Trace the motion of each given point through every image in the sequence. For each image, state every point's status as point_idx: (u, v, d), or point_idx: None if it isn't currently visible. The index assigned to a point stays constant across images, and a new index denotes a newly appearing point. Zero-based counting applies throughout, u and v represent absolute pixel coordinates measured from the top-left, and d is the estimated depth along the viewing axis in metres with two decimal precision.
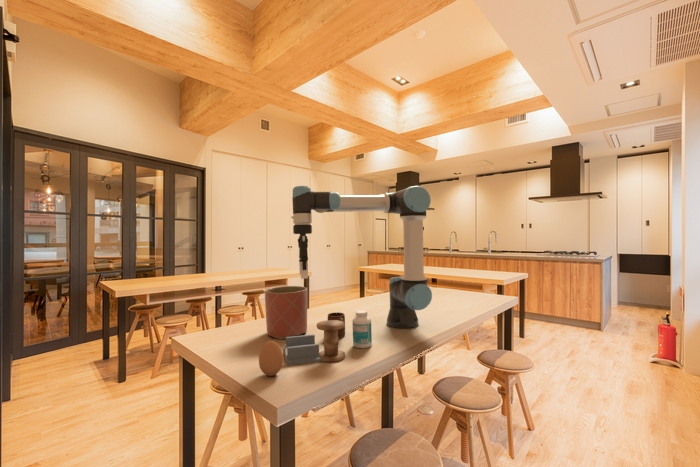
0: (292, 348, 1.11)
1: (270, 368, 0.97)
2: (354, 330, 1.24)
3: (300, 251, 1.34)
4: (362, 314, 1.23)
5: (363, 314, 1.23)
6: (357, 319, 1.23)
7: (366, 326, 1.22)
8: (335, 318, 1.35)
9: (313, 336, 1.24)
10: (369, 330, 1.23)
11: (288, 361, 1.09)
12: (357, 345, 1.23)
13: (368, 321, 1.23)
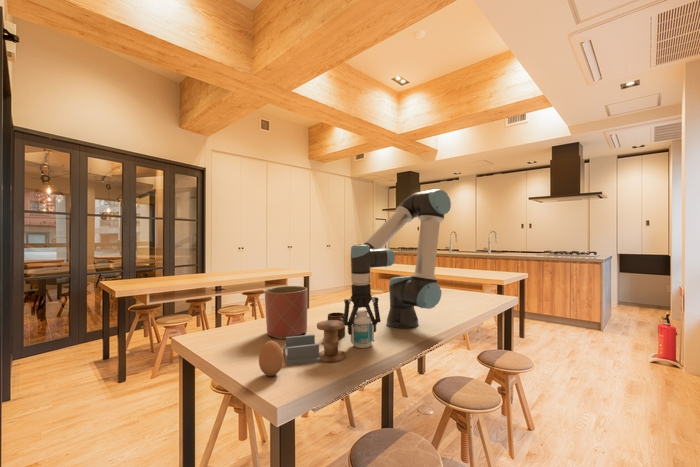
0: (292, 348, 1.11)
1: (270, 368, 0.97)
2: (354, 330, 1.24)
3: (368, 313, 1.27)
4: (362, 314, 1.23)
5: (363, 314, 1.23)
6: (357, 319, 1.23)
7: (366, 326, 1.22)
8: (335, 318, 1.35)
9: (313, 336, 1.24)
10: (369, 330, 1.23)
11: (288, 361, 1.09)
12: (357, 345, 1.23)
13: (368, 321, 1.23)
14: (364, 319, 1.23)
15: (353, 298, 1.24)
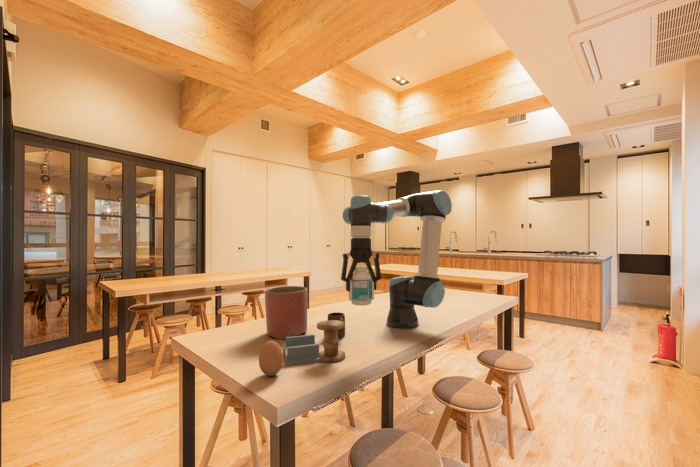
0: (292, 348, 1.11)
1: (270, 368, 0.97)
2: (352, 286, 1.15)
3: (368, 269, 1.19)
4: (361, 269, 1.15)
5: (362, 269, 1.15)
6: (356, 274, 1.15)
7: (365, 282, 1.14)
8: (335, 318, 1.35)
9: (313, 336, 1.24)
10: (369, 286, 1.15)
11: (288, 361, 1.09)
12: (355, 302, 1.14)
13: (368, 276, 1.15)
14: (363, 274, 1.15)
15: (352, 252, 1.16)
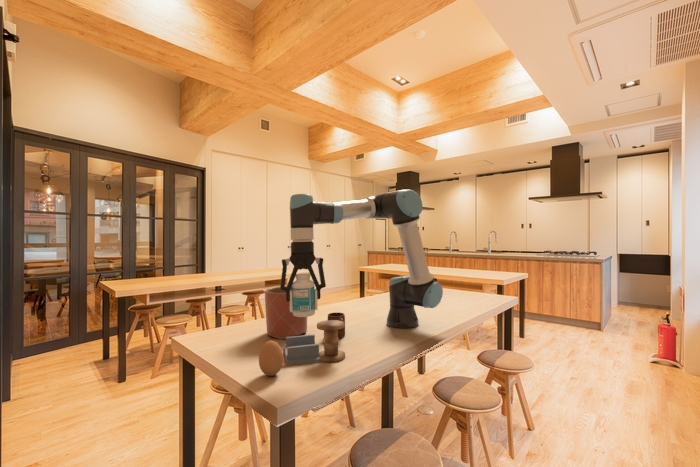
0: (292, 348, 1.11)
1: (270, 368, 0.97)
2: (293, 296, 1.03)
3: (311, 276, 1.07)
4: (302, 276, 1.03)
5: (304, 276, 1.03)
6: (296, 282, 1.03)
7: (306, 291, 1.02)
8: (335, 318, 1.35)
9: (313, 336, 1.24)
10: (311, 296, 1.03)
11: (288, 361, 1.09)
12: (296, 313, 1.02)
13: (309, 284, 1.02)
14: (304, 282, 1.02)
15: (292, 258, 1.03)
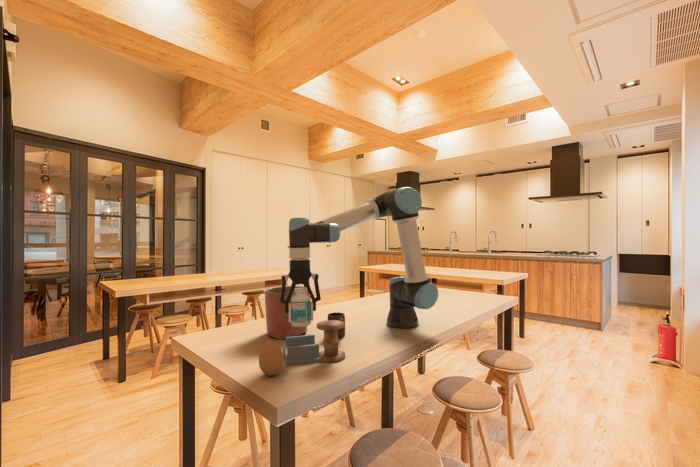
0: (292, 348, 1.11)
1: (270, 368, 0.97)
2: (291, 308, 1.16)
3: None
4: (300, 291, 1.16)
5: (301, 291, 1.16)
6: (294, 296, 1.16)
7: (303, 304, 1.15)
8: (335, 318, 1.35)
9: (313, 336, 1.24)
10: (307, 308, 1.16)
11: (288, 361, 1.09)
12: (294, 324, 1.15)
13: (306, 298, 1.15)
14: (301, 296, 1.15)
15: (290, 274, 1.16)
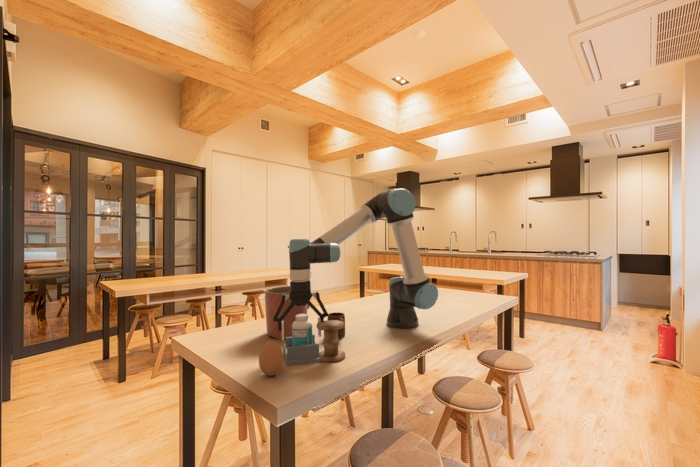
0: (292, 348, 1.11)
1: (270, 368, 0.97)
2: (293, 335, 1.16)
3: None
4: (301, 318, 1.16)
5: (302, 318, 1.16)
6: (296, 323, 1.16)
7: (305, 331, 1.15)
8: (335, 318, 1.35)
9: (313, 336, 1.24)
10: (309, 335, 1.16)
11: (288, 361, 1.09)
12: None
13: (307, 325, 1.15)
14: (303, 323, 1.15)
15: (291, 295, 1.16)
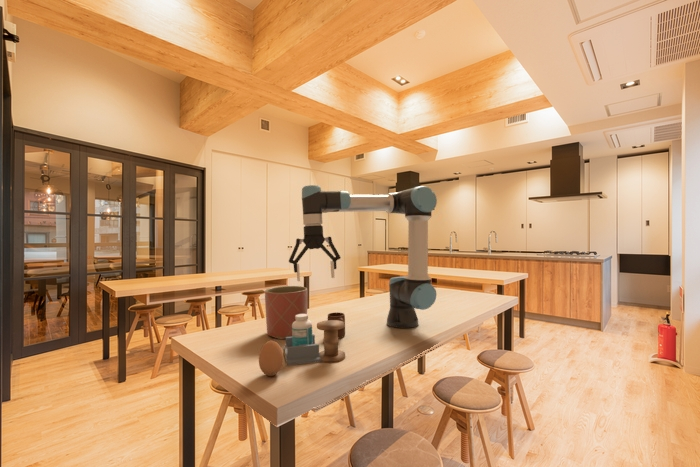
0: (292, 348, 1.11)
1: (270, 368, 0.97)
2: (293, 335, 1.16)
3: None
4: (301, 318, 1.16)
5: (302, 318, 1.16)
6: (296, 323, 1.16)
7: (304, 331, 1.15)
8: (335, 318, 1.35)
9: (313, 336, 1.24)
10: (309, 335, 1.16)
11: (288, 361, 1.09)
12: None
13: (307, 325, 1.15)
14: (303, 323, 1.15)
15: (305, 239, 1.23)
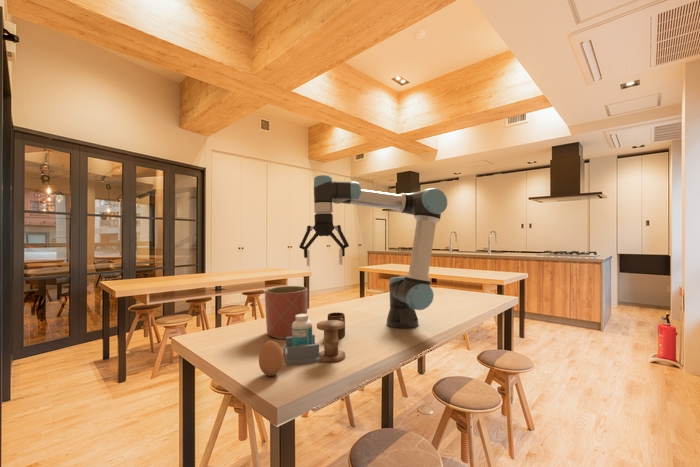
0: (292, 348, 1.11)
1: (270, 368, 0.97)
2: (293, 335, 1.16)
3: (334, 240, 1.32)
4: (301, 318, 1.16)
5: (302, 318, 1.16)
6: (296, 323, 1.16)
7: (304, 331, 1.15)
8: (335, 318, 1.35)
9: (313, 336, 1.24)
10: (309, 335, 1.16)
11: (288, 361, 1.09)
12: None
13: (307, 325, 1.15)
14: (303, 323, 1.15)
15: (316, 226, 1.29)
